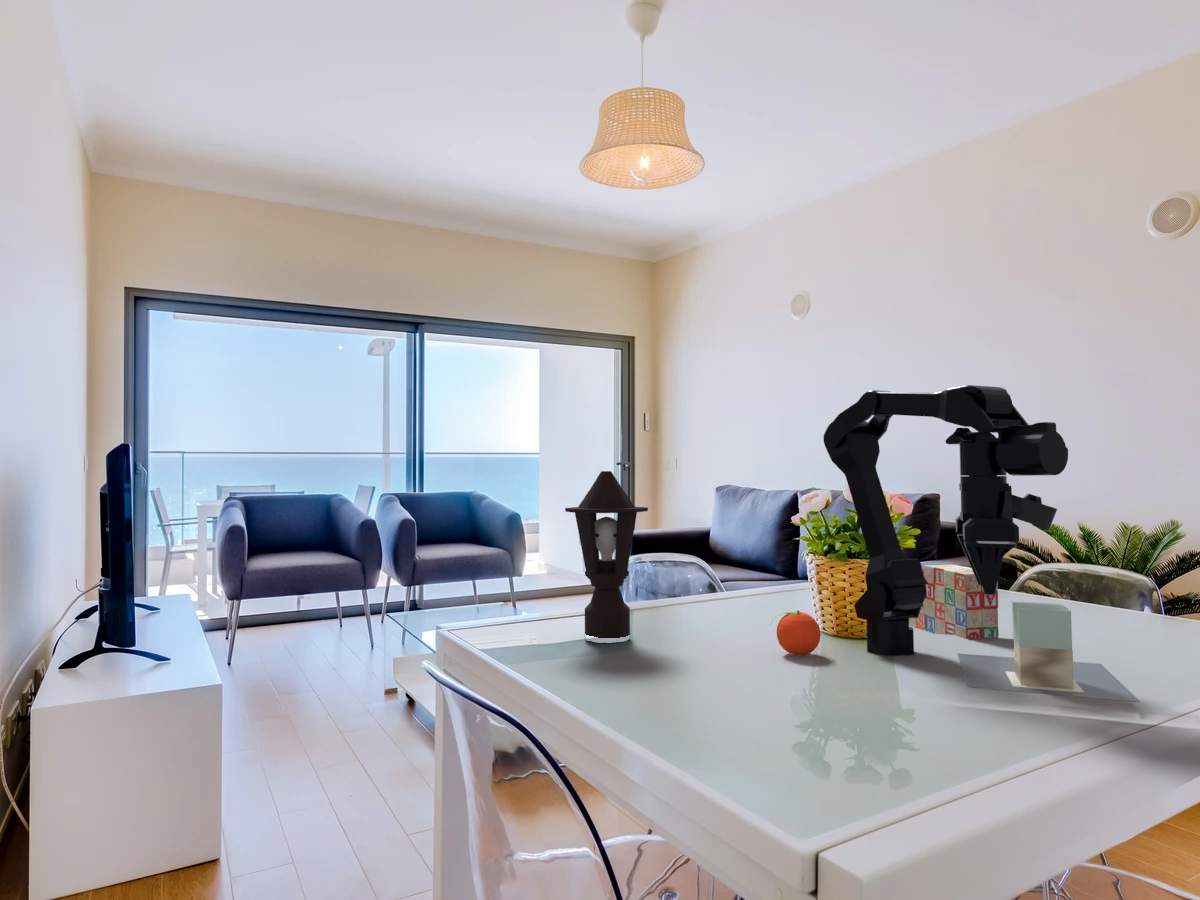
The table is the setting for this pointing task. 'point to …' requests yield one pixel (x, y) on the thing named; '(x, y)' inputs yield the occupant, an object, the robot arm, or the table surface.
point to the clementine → (798, 633)
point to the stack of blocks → (957, 604)
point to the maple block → (1044, 667)
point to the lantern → (606, 554)
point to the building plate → (1001, 676)
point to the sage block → (1042, 625)
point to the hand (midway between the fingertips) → (986, 589)
